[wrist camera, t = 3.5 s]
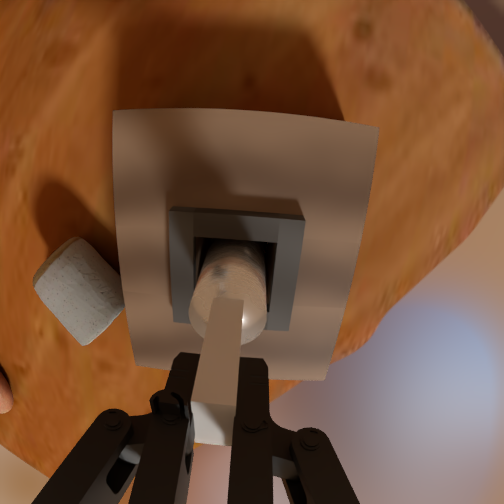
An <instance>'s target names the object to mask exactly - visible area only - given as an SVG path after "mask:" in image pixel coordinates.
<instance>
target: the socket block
mask: <svg viewBox="0 0 504 504" xmlns="http://www.w3.org/2000/svg"><path fill="white" fill-rule="evenodd" d="M378 136H379V127H374V126H369V125H363V124H358V123H352V122H346V121H340V120H333V119H326V118H319V117H312V116H303V115H295V114H285V113H275V112H264V111H250V110H233V109H208V108H154V109H129V110H113V128H112V157H113V190H114V208H115V223H116V235H117V246H118V256H119V265H120V273H121V281H122V288H123V295H124V302H125V309H126V315H127V321H128V327H129V333H130V338H131V343H132V349H133V354H134V359H135V363H136V365H138V366H144V367H150V368H157V369H164V370H171V366H172V363H173V360H174V358H175V357H176V356H177V355H178V354H179V353H180V352H187V353H196V354H201V350H202V346H203V341H204V338H203V337H201V336H200V335H199V334H198V333H197V332H196V331H195V329H194V328H193V326H192V324H191V322H190V319H189V306H190V303H191V300H192V297H193V293H194V290H195V287H196V284H197V281H198V278H199V275H200V272H201V269H202V266H203V264H204V261H205V258H206V255H207V252H208V249H209V246H210V243H211V240H212V238H221V239H235V240H249V241H262V242H268V243H267V253H266V255H264V256H265V281H266V308H267V320H266V324H265V327H264V329H263V331H262V332H261V333H260V335H259V336H258V337H257V338H255V339H254V340H252V341H250V342H248V343H246V344H243V345H241V347H240V357H251V358H263V359H264V361H265V362H266V364H267V366H268V378H269V379H277V380H325V377H326V374H327V370H328V367H329V364H330V361H331V357H332V354H333V351H334V347H335V344H336V340H337V337H338V333H339V330H340V326H341V322H342V319H343V315H344V311H345V307H346V303H347V299H348V295H349V291H350V287H351V283H352V279H353V275H354V270H355V266H356V262H357V257H358V253H359V248H360V243H361V238H362V233H363V228H364V223H365V218H366V213H367V207H368V202H369V196H370V190H371V184H372V178H373V172H374V165H375V158H376V151H377V144H378Z"/></svg>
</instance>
